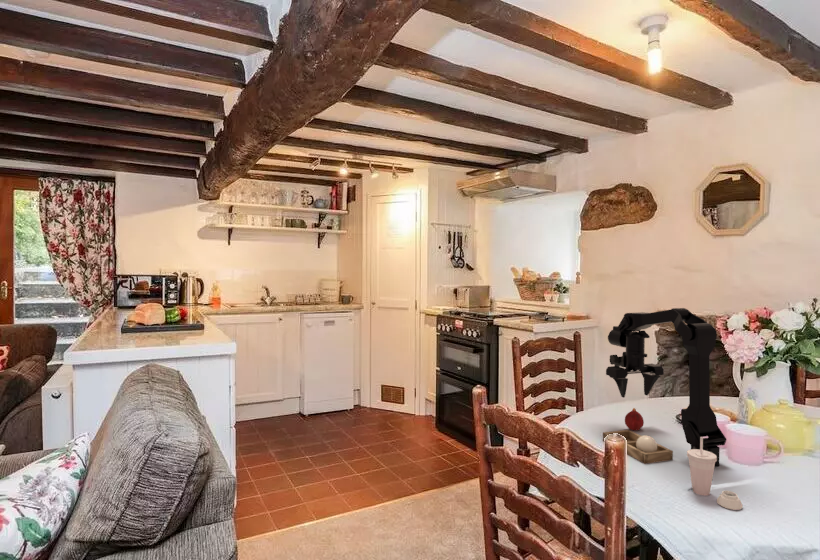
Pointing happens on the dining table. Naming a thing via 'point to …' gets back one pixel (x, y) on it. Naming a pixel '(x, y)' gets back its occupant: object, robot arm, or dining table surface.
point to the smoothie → (701, 469)
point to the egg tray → (649, 457)
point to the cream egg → (646, 444)
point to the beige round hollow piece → (729, 500)
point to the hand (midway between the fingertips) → (634, 396)
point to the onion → (634, 420)
